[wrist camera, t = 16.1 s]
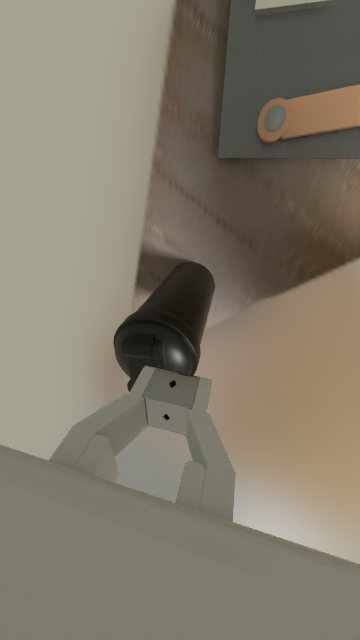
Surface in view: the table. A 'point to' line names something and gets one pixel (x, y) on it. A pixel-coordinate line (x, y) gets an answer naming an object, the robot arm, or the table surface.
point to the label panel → (287, 72)
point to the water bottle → (167, 325)
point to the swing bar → (310, 114)
